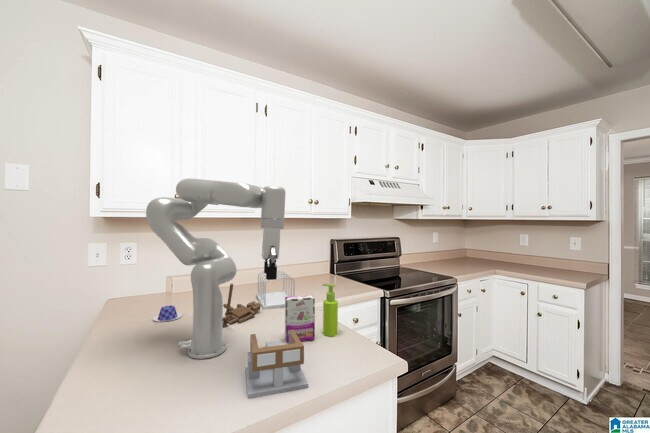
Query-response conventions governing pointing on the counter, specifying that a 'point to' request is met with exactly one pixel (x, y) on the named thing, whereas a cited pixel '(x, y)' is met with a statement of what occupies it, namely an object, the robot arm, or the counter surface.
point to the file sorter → (276, 297)
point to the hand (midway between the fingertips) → (269, 276)
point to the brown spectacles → (276, 354)
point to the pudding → (167, 314)
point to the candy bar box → (300, 317)
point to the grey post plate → (274, 378)
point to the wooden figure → (238, 311)
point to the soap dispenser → (330, 313)
